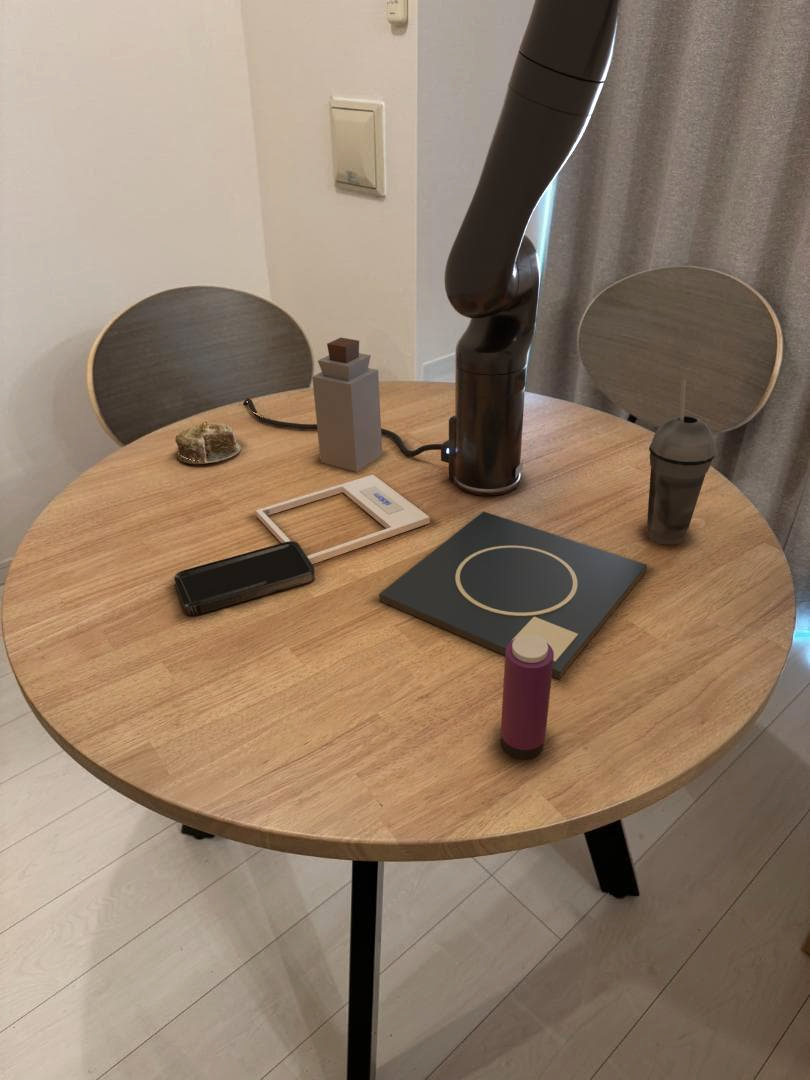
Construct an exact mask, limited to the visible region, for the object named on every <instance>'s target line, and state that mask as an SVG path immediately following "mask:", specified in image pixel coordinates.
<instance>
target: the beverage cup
mask: <svg viewBox="0 0 810 1080" xmlns="http://www.w3.org/2000/svg"><path fill="white" fill-rule="evenodd" d="M686 384H687V379H682V380H680V394H679V395H680V396H679V410H678V412H679V413H678V415H679V416H678V415H677V416H675V417H672V418H669V419H668V420H666V421H665V422H664V423H662V424H661V425H660V426H659V427H658V428H657V430H656V431H655V433H654V435H653V437H652V441H651V442H650V444H649V447H648V451H649V466H650V475H649V489H648V504H647V505H648V506H647V518H646V523H647V525H646V528H647V531H646V535H647V537H648V538H649V539H650V540H651V541H653V542H656V543H658V544H661V545H666V546H673V545H679V544H681V543H683V542H684V541H685V539H686V535H687V533H688V530H689V528H690V524H691V522H692V518H693V516H694V512H695V509H696V506H697V503H698V499H699V496H700V493H701V490H702V487H703V484H704V482H705V477H706V474H708V472H709V469H710V467H711V465H712V461H713V460H714V459H715V438H714V434H713V433H712V430H711V429H710V428H709V427H708V424H706V423H705V422H704V421H703V420H700V419H699V418H697V417H694V416H691V415H685V406H686V390H687V389H686V387H687V385H686Z"/></svg>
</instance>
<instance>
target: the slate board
mask: <svg viewBox="0 0 810 1080" xmlns="http://www.w3.org/2000/svg"><path fill="white" fill-rule="evenodd" d="M647 568H648V564H646V563H643V562H640V561H637V560H634V559H630V558H627V557H625V556H622V555H619V554H616V553H613V552H610V551H607V550H603V549H600V548H597V547H594V546H591V545H588V544H585V543H582V542H579V541H575V540H572V539H569V538H567V537H563V536H560V535H557V534H554V533H551V532H548V531H545V530H542V529H539V528H536V527H533V526H529V525H527V524H524V523H521V522H517V521H514V520H512V519H508V518H505V517H502V516H499V515H496V514H493V513H490V512H487V511H482V512H481V513H480V514H478V515H477V516H476V517H474V518H473V519H472V520H470V521H469V522H468V523H467V524H465V525H464V526H463V527H462V528H460V529H459V530H458V531H457V532H455V533H454V534H453V535H452V536H450V537H449V538H448V539H447V540H445V541H444V542H443V543H442V544H440V545H439V546H438V547H436V548H435V549H434V550H433V551H431V552H430V553H428V555H426V556H425V557H424V558H422V559H421V560H419V562H417V563H416V564H415V565H413V566H412V567H411V568H410V569H408V571H406V572H405V573H404V574H402V575H401V576H400V577H398V578H397V579H396V580H395V581H394V582H393V583H390V585H388V586H387V587H386V588H384V589H383V590H382V591H381V592H379V593H378V598H379V602H381V603H384V604H386V605H387V606H390V607H393V608H395V609H397V610H400V611H401V612H405V614H409V615H411V616H413V617H416V618H418V619H419V620H423V621H425V622H427V623H429V624H432V625H434V626H436V627H438V628H440V629H443V630H446V631H448V632H450V633H453V634H455V635H457V636H459V637H461V638H463V639H466V640H468V641H471V642H472V643H475V644H478V645H480V646H482V647H484V648H486V649H489V650H491V651H494V652H496V653H497V654H500V655H503V656H505V651H506V647H507V645H508V644H509V643H510V642H511V641H512V640H514V639H516V638H517V637H519V636H522V635H534V636H538V637H540V638H542V639H543V640H544V641H545V642H547V643H548V644H549V645H550V646H551V647H552V649H553V652H554V659H553V669H552V677H553V678H555V679H558V680H560V679H561V678H562V676H563V675H564V674H565V673H566V671H568V669H569V668H570V666H571V665H572V664H573V663H574V661H575V660H576V659H577V658H578V656H579V655H580V654H581V653H582V652H583V650H584V649H585V648H586V647H587V645H588V644H589V643H590V642H591V640H592V639H593V638H594V637H595V635H596V634H597V633H598V632H599V630H600V629H601V628H602V627H603V626H604V624H605V623H606V622H607V620H609V618H610V617H611V616H612V615H613V613H614V612H615V611H616V609H618V607H619V606H620V604H621V603H622V602H623V601H624V599H625V598H627V595H628V594H630V592H631V591H632V590H633V588H634V587H635V586H636V585H637V584H638V582H639V581H640V580H641V579H642V577H643V576H644V575H645V574H646V572H647Z"/></svg>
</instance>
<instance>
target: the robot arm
mask: <svg viewBox="0 0 810 1080" xmlns="http://www.w3.org/2000/svg"><path fill="white" fill-rule="evenodd" d="M621 7H622V0H534V3H533V6H532V9H531V12H530V15H529V19H528V22H527V25H526V28H525V31H524V33H523V37H522V39H521V42H520V44H519V47H518V48H519V49H518V51H517V54H516V58H515V60H514V64H513V66H512V69H511V74H510V77H509V79H508V83H507V88H506V90H505V95H504V99H503V102H502V106H501V109H500V113H499V115H498V118H497V122H496V124H495V128H494V131H493V133H492V138H491V140H490V143H489V146H488V150H487V152H486V156H485V159H484V163H483V166H482V169H481V173H480V175H479V179H478V182H477V184H476V188H475V190H474V193H473V195H472V198H471V201H470V203H469V206H468V207H467V210H466V212H465V215H464V217H463V220H462V221H461V224H460V227H459V229H458V231H457V233H456V236H455V238H454V241H453V243H452V246H451V248H450V251H449V253H448V256H447V258H446V263H445V268H444V275H443V276H444V277H443V279H444V281H443V282H444V291H445V294H446V297H447V299H448V302H449V304H450V305H451V307H452V308H453V309H454V311H456V312H457V313H458V314H459V315H461V316H463V317H465V318H468V319H470V320H469V322H468V324H467V327H466V328H465V331H464V332H463V333H462V335H461V336H460V337H459V339H458V341H457V342H456V345H455V357H454V363H455V367H454V368H455V369H454V370H455V371H454V375H455V376H454V389H455V390H454V402H455V403H454V414H453V415H452V416H450V418H449V419H448V439H447V440H446V441H444V442H443V443H431V444H430V443H429V444H425V445H421V446H419V447H418V448H416V449H414V450H410V449H408V448H407V446H406V445H405V443H404V441H403V440H402V438H401V437H400V436H399V435H398V434H397V433H395V432H394V431H391V430H389V429H386V428H382V427H381V435H385V436H388V437H390V438H392V439H393V440H394V441H395V442H396V443H397V445H398V447H399V449H400V450H401V452H402V453H403V454H404V455H406V456H408V457H416V456H419V455H420V454H422V453H424V452H427V451H440V462H442V463H446V464H448V481H450V482H453V483H454V485H455V486H456V487H457V488H458V489H460V490H461V491H463V492H466V493H468V494H471V495H476V496H485V497H486V496H499V495H504V494H507V493H510V492H513V491H514V490H516V489H517V488H518V487H519V485H520V484H521V472H522V471H523V469H524V460H522V461H521V459H522V442H523V427H524V426H523V425H524V412H525V411H524V410H525V409H524V408H525V395H526V377H527V363H528V362H527V361H528V352H529V349H530V348H531V345H532V343H533V340H534V336H535V332H536V325H537V315H538V305H539V295H540V283H541V266H540V259H539V255H538V252H537V249H536V246H535V245H534V243H533V241H532V240H531V238H529V237H528V236H527V235H526V234H525V233H526V230H527V227H528V224H529V222H530V220H531V218H532V215H533V213H534V211H535V210H536V207H537V206H538V204H539V202H540V201H541V199H542V198H543V196H544V194H545V193H546V191H547V190H548V188H549V186H550V185H551V184H552V183H553V182H554V179H555V178H556V177H557V176H558V174H559V172H561V170H562V168H563V167H564V166H565V164H566V163H567V161H568V159H569V158H570V156H571V155H572V154H573V152H574V150H575V148H576V147H577V145H578V144H579V142H580V140H581V139H582V137H583V135H584V134H585V131H586V129H587V127H588V125H589V122H590V121H591V118H592V116H593V113H594V110H595V108H596V105H597V103H598V100H599V97H600V95H601V92H602V90H603V87H604V85H605V83H606V79H607V77H608V75H609V72H610V68H611V66H612V62H613V58H614V56H615V55H614V54H615V52H616V51H615V50H616V45H617V41H618V40H617V39H618V35H619V34H618V33H619V26H620V16H621ZM246 401H248V403H247V402H246ZM242 405H243V406H248V408H249V409H250V411H251V410H252V411H253V412H255V413H257V412H258V410H257V408H256V406H255V404H254V402H253V400H252V399H251V398H249V397H247V398H246V399H244V401H243V403H242ZM252 411H251V413H252V415H253V416H254V418H256V419H257V420H258V421H261V422H263V423H265V424H268V425H271V426H276V427H281V428H288V429H297V430H317V423H297V422H296V423H295V422H288V421H287V422H286V421H282V420H281V421H280V420H276V419H275V420H274V419H271V418H268V417H265V416H263V418H262V417H260V416H258V415H256V414H254V413H253V412H252ZM264 417H265V418H264ZM266 418H267V419H266Z"/></svg>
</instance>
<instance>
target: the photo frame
mask: <svg viewBox="0 0 810 1080" xmlns="http://www.w3.org/2000/svg"><path fill="white" fill-rule="evenodd" d="M342 493H343V494H344V495H346V496H347V497H348V498H349V499H350V500H351V501H352V502H354V503H355V504H356V505H357V506H359V507H360V508H361V509H362V510H364V511H365V512H366V513H367V514H368V515H369V516H370V517H372V518H373V519H374V520H375V521H377V522H378V523H379V524H380V525H381V526H382V527H384V529H382V530H378V531H376V532H373V533H370V534H367V535H364V536H362V537H359V538H355V539H352V540H350V541H346V542H344V543H341V544H338V545H335V546H332V547H329V548H326V549H324V550H320V551H318V552H314V553H312V554H309V555H306V556H307V557H308V559H309V560H310V562H311V563H312V565H314V564H318V563H320V562H323V561H325V560H328V559H331V558H334V557H337V556H340V555H343V554H345V553H348V552H352V551H354V550H357V549H360V548H362V547H365V546H369V545H371V544H374V543H377V542H380V541H382V540H385V539H388V538H392V537H394V536H397V535H400V534H403V533H405V532H408V531H411V530H414V529H417V528H419V527H423V526H425V525H429V524H430V520H431V519H430V516H429V515H428V514H427V513H425V512H424V511H422V510H421V509H420V508H419V507H417V506H416V505H414V504H413V503H412V502H410V501H409V500H408V499H406V498H405V497H404V496H402V495H401V494H399V493H398V492H397V491H395V490H394V489H393V488H392V487H390V486H389V485H388V484H386V483H385V482H384V481H383V480H381V479H380V478H378V477H377V476H375V474H370V475H367V476H364V477H361V478H357V479H355V480H350V481H347V482H344V483H341V484H337V485H333V486H330V487H327V488H323V489H321V490H317V491H315V492H311V493H308V494H304V495H301V496H298V497H295V498H292V499H288V500H285V501H281V502H279V503H274V504H272V505H269V506H266V507H261V508H259V509H256V510H255V515H256V517H257V519H258V520H259V521H260V522H262V524H263V525H264V526H265V527H266V528H267V529H268V530H269V532H270V533H271V534H272V535H273V536H274V537H275V538H276V539H277V540H278V541H279V542H280V544H281V543H284V542H288V541H291V539H290V538H289V537H288V536H287V535H286V534H285V533H284V532H283V531H282V530H281V529H280V528H279V526H278V525H277V524H276V523H275V522H274V521H272V519H271V518H270V517H269V516H271V515H274V514H277V513H280V512H284V511H287V510H290V509H294V508H296V507H301V506H303V505H306V504H309V503H312V502H315V501H319V500H323V499H327V498H329V497H332V496H335V495H338V494H342Z"/></svg>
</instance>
